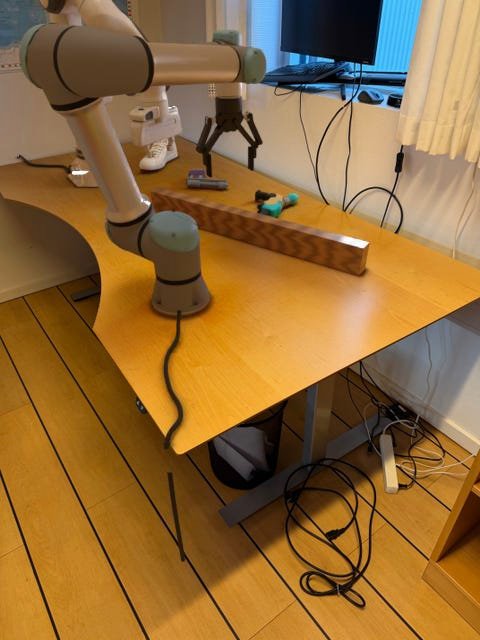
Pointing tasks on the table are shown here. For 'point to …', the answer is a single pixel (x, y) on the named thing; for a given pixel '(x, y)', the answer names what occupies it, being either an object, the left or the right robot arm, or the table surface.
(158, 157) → the sneaker
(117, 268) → the table surface
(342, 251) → the beam
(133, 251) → the right robot arm
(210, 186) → the toy gun
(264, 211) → the toy gun
